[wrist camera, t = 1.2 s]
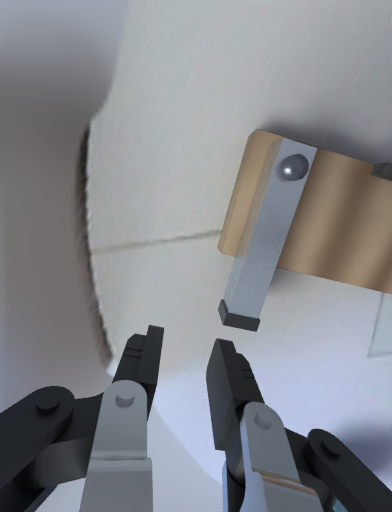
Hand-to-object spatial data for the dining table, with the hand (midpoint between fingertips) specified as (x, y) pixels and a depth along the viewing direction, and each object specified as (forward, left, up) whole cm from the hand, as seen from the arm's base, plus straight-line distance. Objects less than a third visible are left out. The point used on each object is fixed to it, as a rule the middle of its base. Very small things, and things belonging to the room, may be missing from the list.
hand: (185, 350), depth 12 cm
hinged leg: (-7, -4, -14) cm, 16 cm away
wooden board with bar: (-16, -8, -17) cm, 24 cm away
